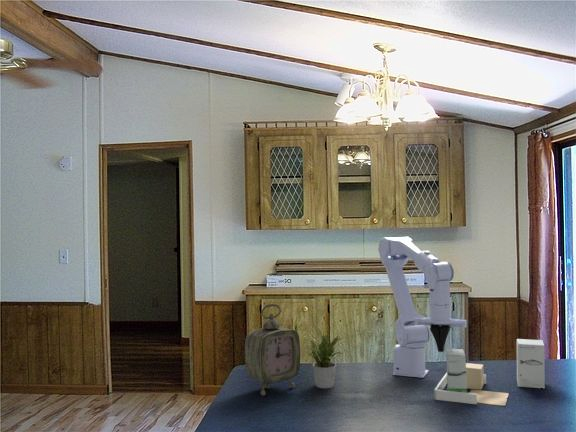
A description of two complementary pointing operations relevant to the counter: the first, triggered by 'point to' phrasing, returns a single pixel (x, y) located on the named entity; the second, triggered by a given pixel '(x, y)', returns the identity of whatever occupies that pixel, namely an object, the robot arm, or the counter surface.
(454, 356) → the ink box
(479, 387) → the kraft carton
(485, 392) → the cork mat
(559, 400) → the counter surface
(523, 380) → the supplement box
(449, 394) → the tray
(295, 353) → the tabletop clock
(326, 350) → the house plant
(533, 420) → the counter surface
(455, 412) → the counter surface
